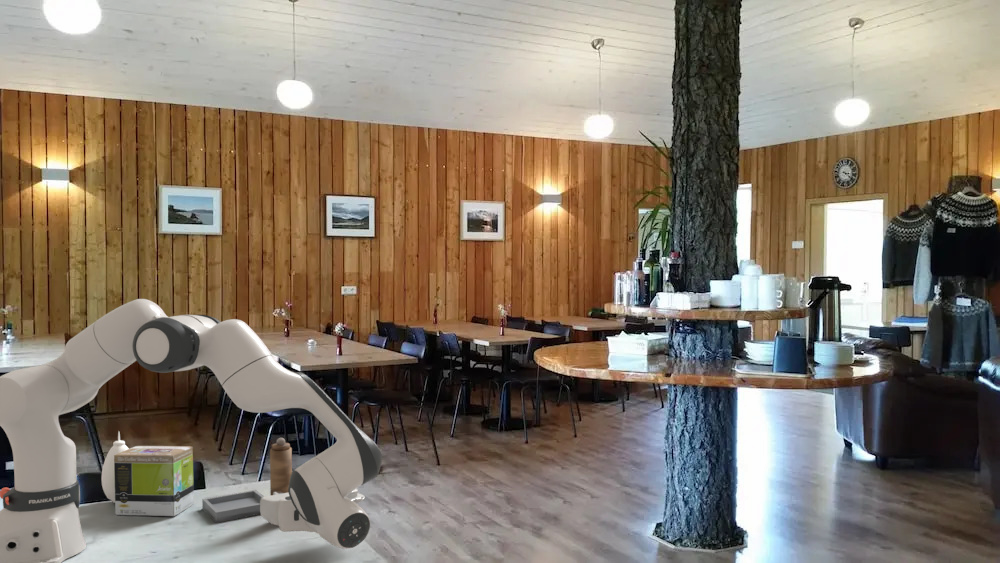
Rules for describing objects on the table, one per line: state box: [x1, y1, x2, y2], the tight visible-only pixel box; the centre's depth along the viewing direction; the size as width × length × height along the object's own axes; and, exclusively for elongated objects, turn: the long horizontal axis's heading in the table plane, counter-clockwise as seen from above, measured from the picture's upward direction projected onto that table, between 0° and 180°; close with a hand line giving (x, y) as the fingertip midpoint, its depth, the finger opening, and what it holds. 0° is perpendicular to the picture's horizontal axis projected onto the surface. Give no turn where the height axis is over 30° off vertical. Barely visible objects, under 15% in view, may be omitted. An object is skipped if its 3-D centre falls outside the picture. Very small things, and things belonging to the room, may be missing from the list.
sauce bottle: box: [101, 431, 130, 503], centre depth 192 cm, size 8×8×18 cm
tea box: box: [114, 445, 195, 517], centre depth 186 cm, size 15×10×15 cm
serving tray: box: [202, 489, 265, 524], centre depth 186 cm, size 13×12×2 cm
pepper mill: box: [269, 437, 293, 527], centre depth 178 cm, size 5×5×20 cm
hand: (297, 491), depth 169 cm, fingers open, 8 cm apart
